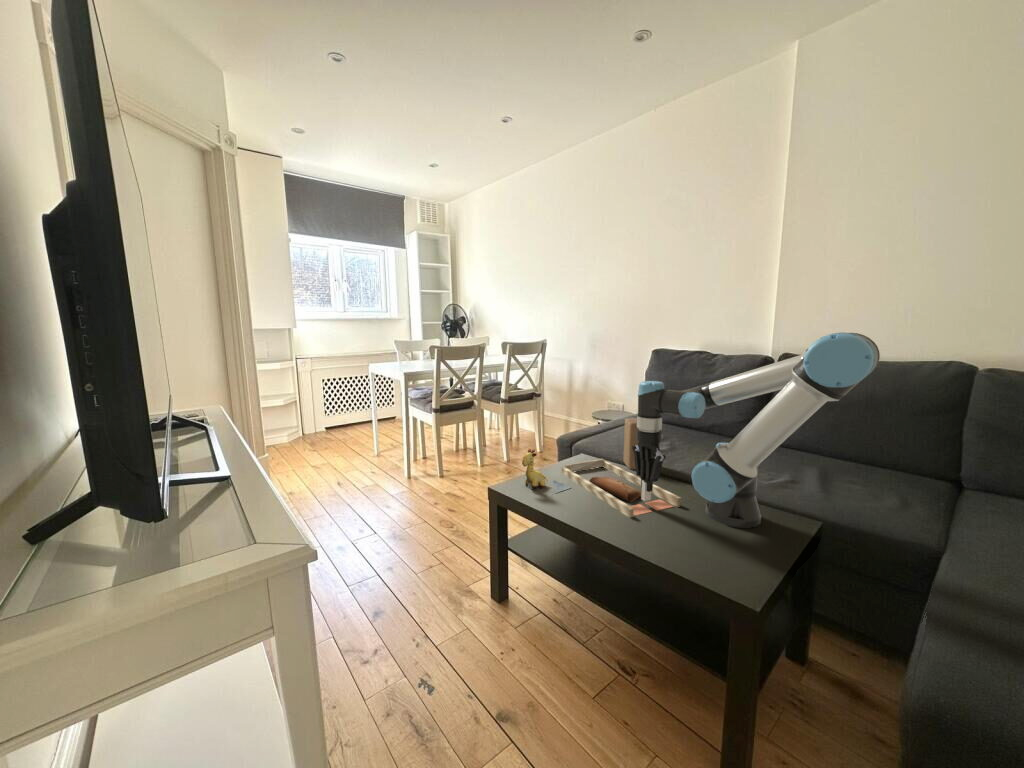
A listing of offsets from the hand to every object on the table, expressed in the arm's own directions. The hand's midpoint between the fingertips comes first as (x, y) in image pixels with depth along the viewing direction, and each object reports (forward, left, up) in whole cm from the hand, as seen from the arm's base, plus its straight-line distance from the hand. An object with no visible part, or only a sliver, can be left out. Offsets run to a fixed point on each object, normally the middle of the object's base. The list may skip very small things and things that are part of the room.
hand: (646, 499), depth 132 cm
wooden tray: (+16, 0, -2) cm, 16 cm away
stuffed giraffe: (+27, +26, -3) cm, 38 cm away
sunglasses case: (+14, 0, -3) cm, 14 cm away
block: (+32, -24, -3) cm, 40 cm away
